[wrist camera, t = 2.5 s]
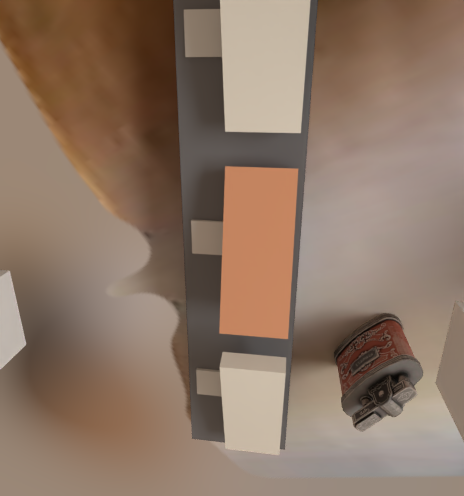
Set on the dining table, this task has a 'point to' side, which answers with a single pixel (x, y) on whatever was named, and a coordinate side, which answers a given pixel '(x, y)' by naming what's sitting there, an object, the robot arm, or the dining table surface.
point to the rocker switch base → (222, 203)
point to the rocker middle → (257, 251)
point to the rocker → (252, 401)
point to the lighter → (376, 371)
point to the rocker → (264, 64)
